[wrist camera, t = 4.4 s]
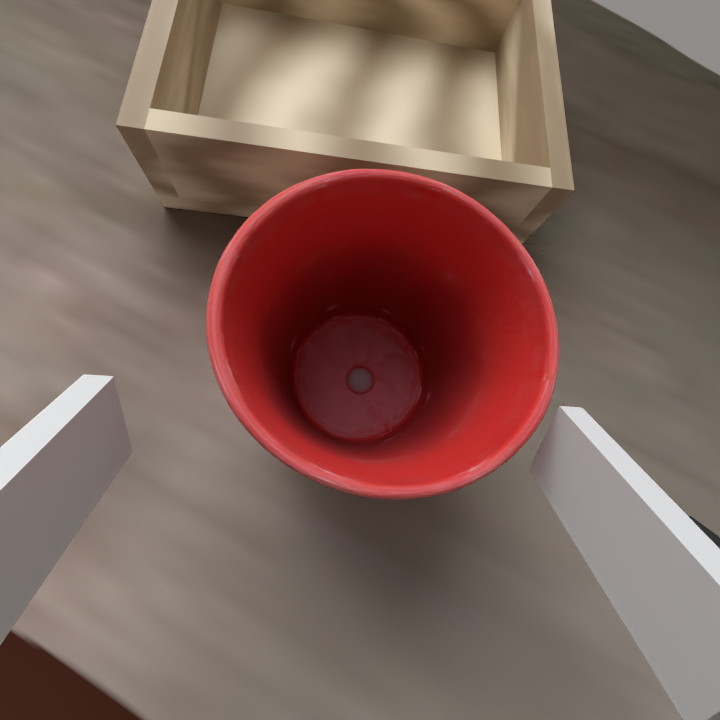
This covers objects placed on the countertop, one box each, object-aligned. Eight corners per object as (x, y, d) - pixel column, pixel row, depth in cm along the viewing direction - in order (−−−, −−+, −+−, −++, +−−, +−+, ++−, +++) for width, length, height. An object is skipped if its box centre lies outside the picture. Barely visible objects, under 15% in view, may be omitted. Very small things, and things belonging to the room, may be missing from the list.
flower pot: (390, 523, 18) (470, 590, 9) (214, 404, 19) (118, 353, 10) (482, 357, 21) (611, 282, 12) (328, 258, 22) (339, 112, 13)
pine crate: (502, 57, 28) (546, -34, 23) (516, 249, 24) (574, 190, 18) (210, 4, 26) (184, -111, 21) (164, 206, 21) (115, 125, 16)
